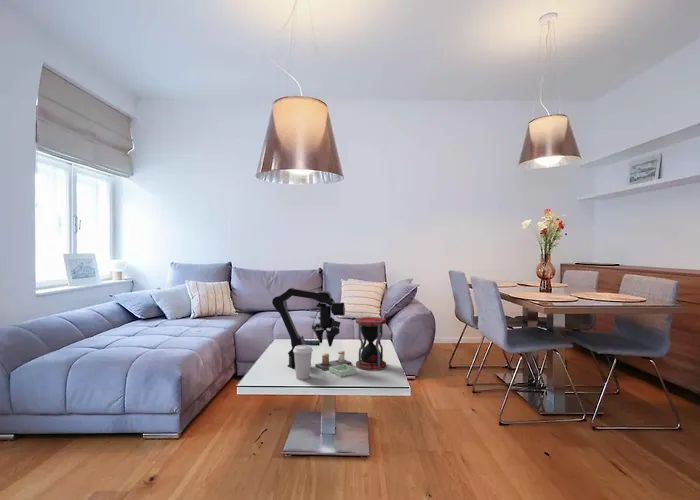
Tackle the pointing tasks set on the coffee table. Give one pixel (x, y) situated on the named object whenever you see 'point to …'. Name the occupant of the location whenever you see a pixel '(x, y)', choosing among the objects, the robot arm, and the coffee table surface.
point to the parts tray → (342, 370)
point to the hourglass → (370, 343)
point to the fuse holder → (331, 364)
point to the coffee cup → (302, 361)
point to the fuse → (341, 356)
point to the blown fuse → (325, 360)
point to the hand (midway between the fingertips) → (325, 344)
